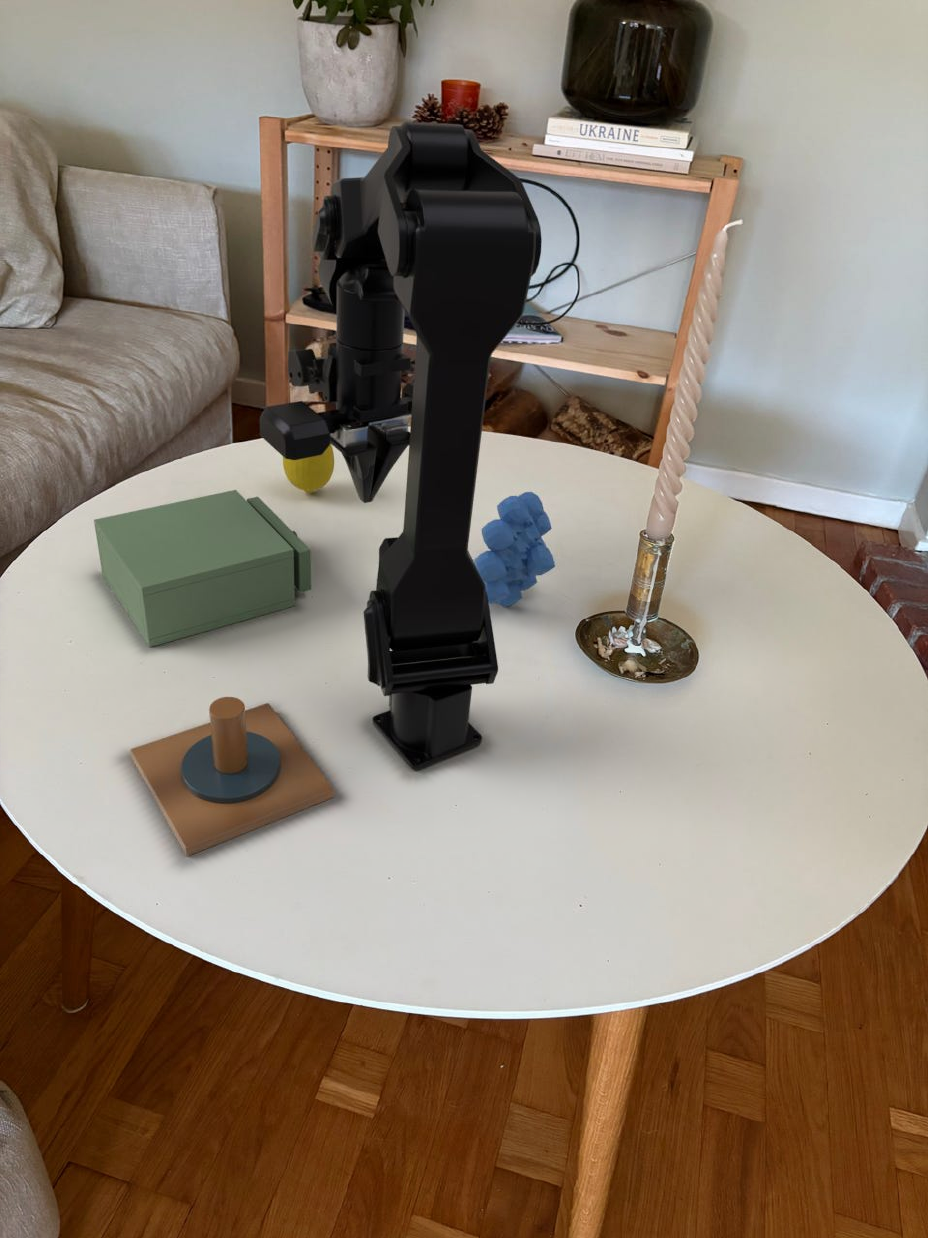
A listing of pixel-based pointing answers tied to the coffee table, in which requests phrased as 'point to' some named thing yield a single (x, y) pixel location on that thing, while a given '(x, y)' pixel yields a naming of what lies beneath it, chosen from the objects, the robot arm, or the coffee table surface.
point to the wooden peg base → (222, 821)
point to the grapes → (514, 549)
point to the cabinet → (195, 565)
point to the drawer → (300, 548)
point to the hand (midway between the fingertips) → (365, 500)
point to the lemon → (310, 471)
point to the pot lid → (230, 758)
